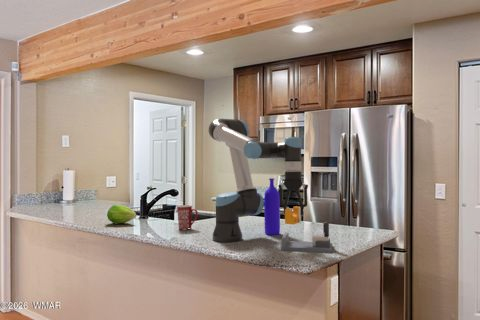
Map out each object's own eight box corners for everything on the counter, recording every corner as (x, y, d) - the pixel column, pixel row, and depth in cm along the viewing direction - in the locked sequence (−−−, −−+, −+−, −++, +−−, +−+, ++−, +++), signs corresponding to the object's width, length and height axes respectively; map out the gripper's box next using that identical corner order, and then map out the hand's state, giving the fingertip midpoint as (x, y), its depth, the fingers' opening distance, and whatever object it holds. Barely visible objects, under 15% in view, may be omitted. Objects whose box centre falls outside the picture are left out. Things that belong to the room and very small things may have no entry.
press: (280, 250, 174) (280, 237, 174) (284, 243, 186) (284, 232, 186) (331, 252, 168) (331, 239, 168) (332, 246, 181) (332, 234, 181)
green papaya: (127, 226, 239) (127, 207, 239) (102, 224, 247) (102, 205, 247) (142, 223, 251) (142, 204, 251) (118, 221, 260) (117, 203, 260)
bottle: (267, 235, 206) (267, 179, 206) (262, 233, 214) (261, 178, 214) (282, 234, 208) (281, 178, 208) (276, 232, 216) (276, 177, 216)
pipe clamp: (294, 224, 173) (294, 209, 173) (285, 223, 175) (284, 209, 175) (303, 220, 183) (303, 206, 183) (294, 219, 185) (294, 206, 185)
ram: (312, 245, 174) (312, 223, 174) (313, 243, 179) (312, 221, 179) (328, 246, 173) (328, 223, 173) (329, 243, 177) (328, 221, 177)
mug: (174, 229, 226) (173, 206, 226) (181, 227, 235) (181, 204, 235) (193, 231, 222) (193, 207, 222) (200, 228, 231) (200, 205, 230)
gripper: (272, 171, 177) (272, 222, 177) (312, 171, 173) (313, 223, 173) (274, 170, 184) (275, 220, 184) (313, 170, 180) (314, 221, 180)
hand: (293, 221), depth 179 cm, fingers closed on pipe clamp, 5 cm apart
